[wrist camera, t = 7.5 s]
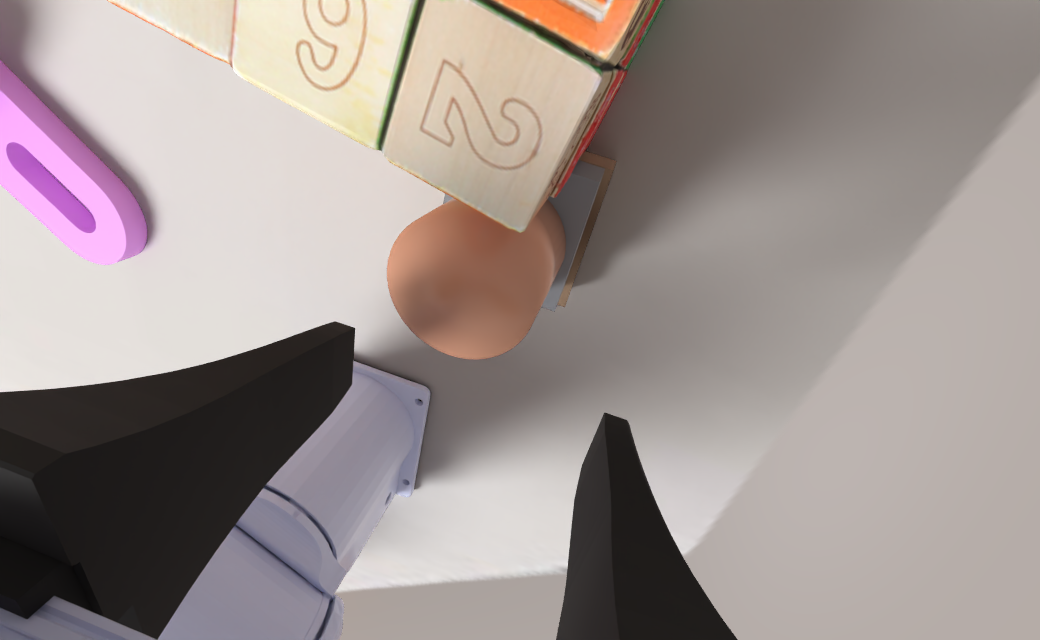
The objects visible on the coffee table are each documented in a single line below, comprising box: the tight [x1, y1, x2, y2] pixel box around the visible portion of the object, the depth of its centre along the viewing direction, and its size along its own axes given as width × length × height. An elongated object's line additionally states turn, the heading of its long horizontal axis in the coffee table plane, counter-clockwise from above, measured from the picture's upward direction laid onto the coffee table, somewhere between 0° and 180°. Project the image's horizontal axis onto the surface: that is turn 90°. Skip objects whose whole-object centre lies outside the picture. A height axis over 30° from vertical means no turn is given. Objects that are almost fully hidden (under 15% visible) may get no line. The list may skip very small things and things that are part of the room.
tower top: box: [443, 160, 605, 312], centre depth 18 cm, size 5×5×2 cm
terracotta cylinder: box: [387, 198, 566, 359], centre depth 15 cm, size 4×4×4 cm
